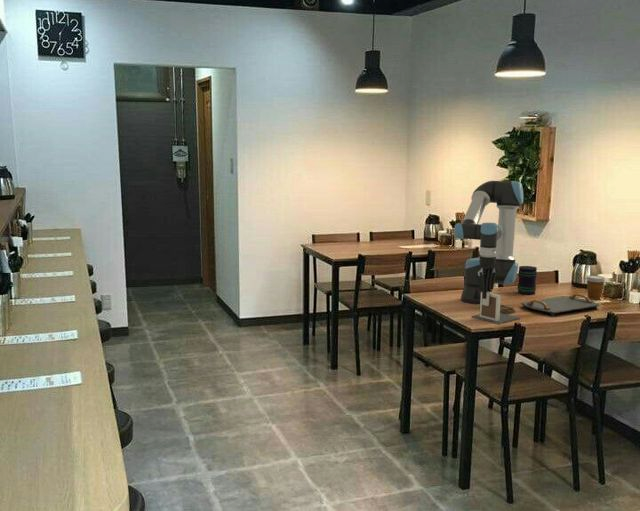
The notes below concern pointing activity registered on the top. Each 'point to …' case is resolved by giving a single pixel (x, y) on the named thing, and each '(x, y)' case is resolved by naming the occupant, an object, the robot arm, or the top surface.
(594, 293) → the disposable coffee cup
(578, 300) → the serving board
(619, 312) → the top surface
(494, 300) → the white picture frame
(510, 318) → the rubber mat
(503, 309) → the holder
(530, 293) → the storage jar
